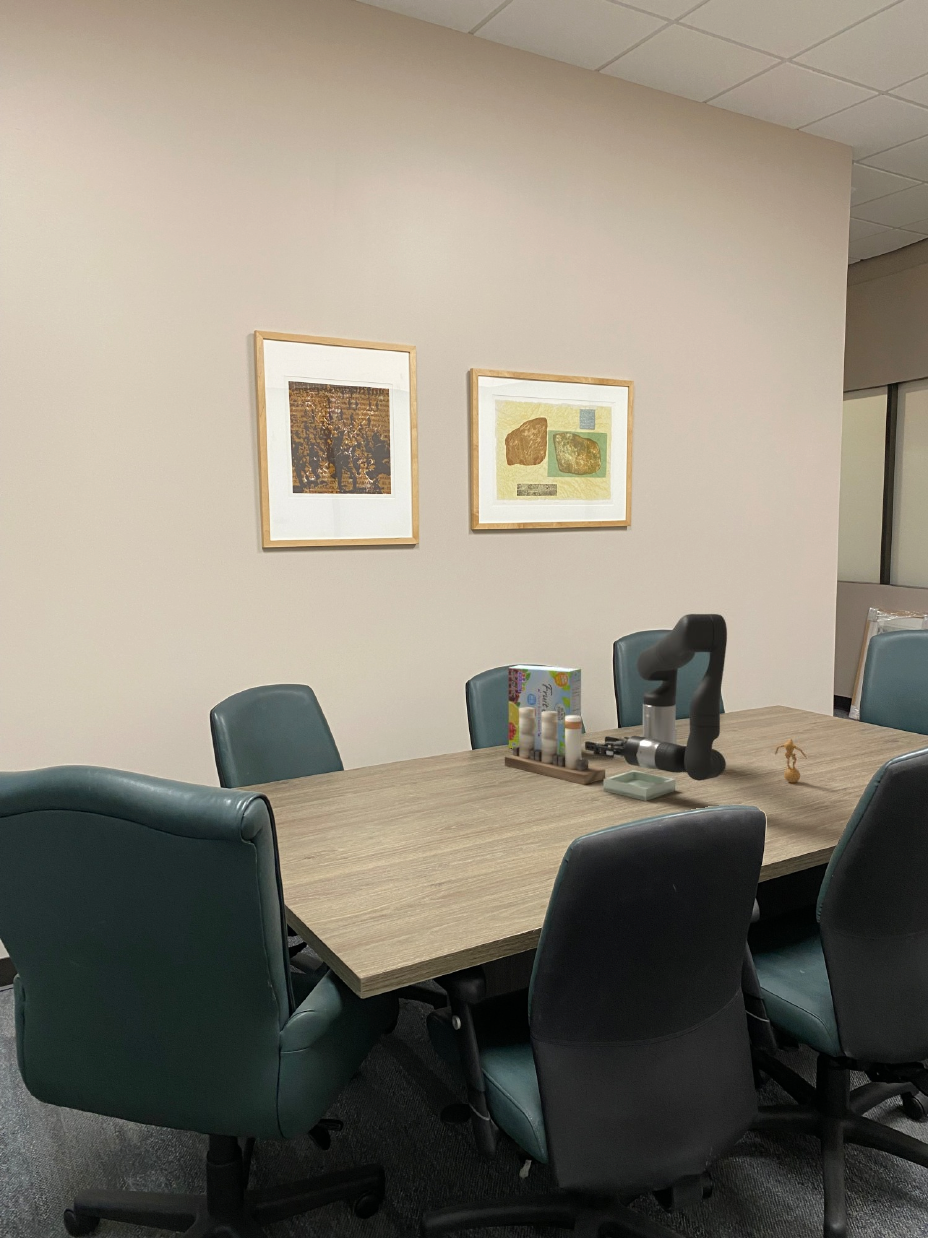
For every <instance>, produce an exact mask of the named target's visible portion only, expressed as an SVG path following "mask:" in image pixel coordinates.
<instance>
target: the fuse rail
mask: <svg viewBox="0 0 928 1238" xmlns="http://www.w3.org/2000/svg"><path fill="white" fill-rule="evenodd" d="M504 766H507V767H510V768H514V769H519V770H523V771H527V772H532V773H535V774H540V775H543V776H544V775H545V776H547V777H551V778H556V779H560V780H563V781H566V782H567V781H568V782H572V783H576V784H580V785H587V784H590V783H594V782H595V783H596V782H598V781H602V780H604V779H606V768H602V767H597V766H593V765H590V764H589V759H587V758H581V760H578V761H577V769H567V768H565V755H564V754H557V712H555V711H544V712H542V750H541V749H535V708H532V707H522V708H519V746H514V747H513V749H512V754H511V755H506V756H504Z"/></svg>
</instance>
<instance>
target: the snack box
mask: <svg viewBox="0 0 928 1238" xmlns="http://www.w3.org/2000/svg"><path fill="white" fill-rule="evenodd" d="M522 707H532V708H535V749H541V750H542V712H544V711H555V712H557V754H564V755H565V716H568V715H578V716H581V717H582V668H570V667H558V666H546V665H545V666H543V665H542V666H540V665H524V664H523V665H522V664H521V665H520V664H519V665H515V666H509V667H508V749H511V748H513V747H514V746H519V708H522Z"/></svg>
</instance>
